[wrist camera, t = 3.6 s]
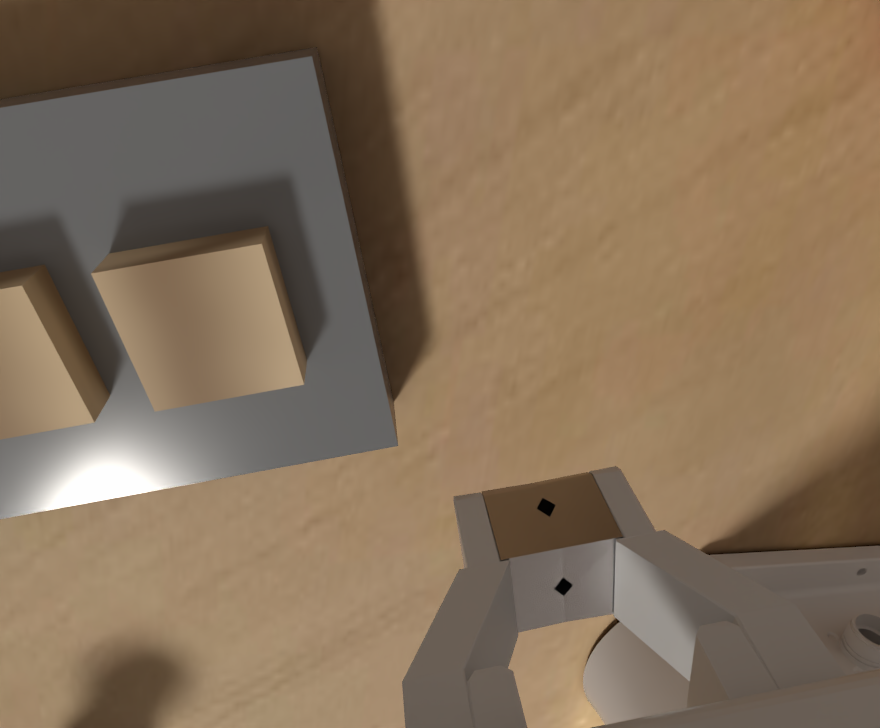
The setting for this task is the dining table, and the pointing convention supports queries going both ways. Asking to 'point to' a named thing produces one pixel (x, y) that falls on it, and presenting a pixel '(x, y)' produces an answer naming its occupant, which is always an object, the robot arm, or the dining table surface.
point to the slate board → (177, 219)
